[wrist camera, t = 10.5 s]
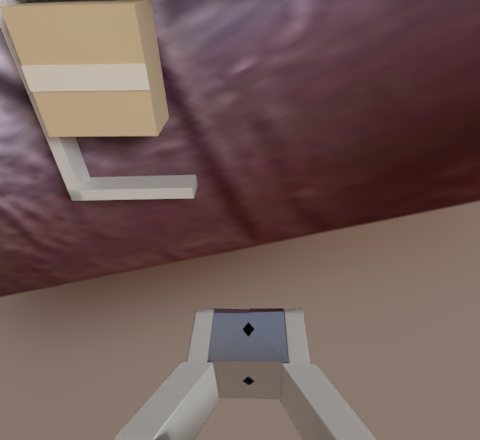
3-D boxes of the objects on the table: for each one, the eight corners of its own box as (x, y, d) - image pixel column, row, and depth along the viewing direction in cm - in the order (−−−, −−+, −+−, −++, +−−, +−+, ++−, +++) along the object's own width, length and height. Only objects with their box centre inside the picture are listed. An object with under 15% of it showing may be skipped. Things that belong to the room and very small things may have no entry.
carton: (152, -2, 25) (134, 3, 22) (170, 116, 31) (158, 136, 27) (35, 1, 26) (-2, 6, 22) (72, 117, 31) (48, 137, 27)
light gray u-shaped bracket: (165, -42, 23) (156, -43, 21) (197, 185, 34) (193, 198, 32) (-1, -31, 24) (-24, -32, 22) (82, 187, 35) (72, 200, 33)
